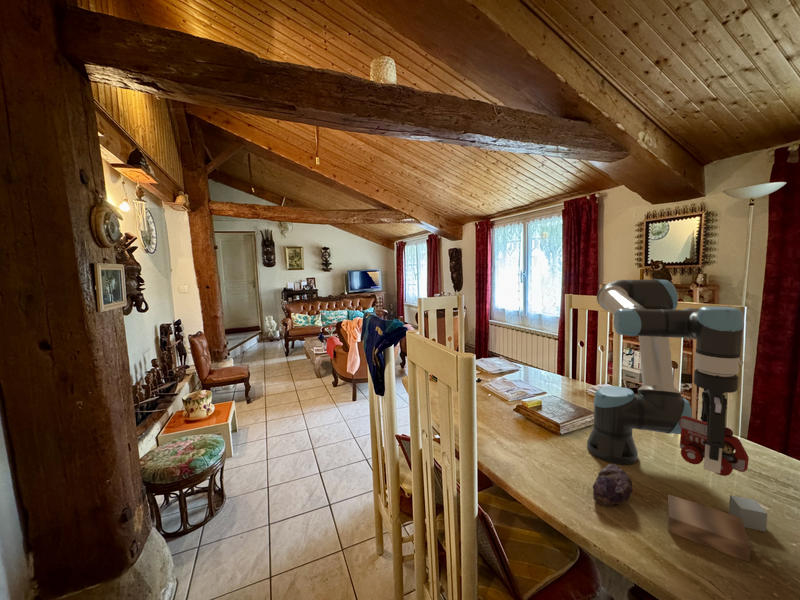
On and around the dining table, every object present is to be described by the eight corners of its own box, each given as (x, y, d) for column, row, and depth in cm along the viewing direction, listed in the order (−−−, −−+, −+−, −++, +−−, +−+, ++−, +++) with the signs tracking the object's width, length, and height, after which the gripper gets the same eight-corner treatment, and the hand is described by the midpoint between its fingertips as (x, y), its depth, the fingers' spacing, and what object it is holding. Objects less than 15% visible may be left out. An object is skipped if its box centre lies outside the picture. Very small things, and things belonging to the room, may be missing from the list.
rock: (587, 503, 93) (628, 521, 85) (585, 477, 91) (627, 494, 84) (599, 478, 100) (638, 493, 93) (597, 454, 99) (637, 467, 92)
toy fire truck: (741, 484, 71) (745, 440, 70) (672, 456, 82) (674, 418, 81) (750, 473, 75) (754, 430, 74) (683, 448, 85) (685, 411, 84)
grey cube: (738, 525, 82) (740, 507, 81) (728, 512, 86) (729, 494, 86) (765, 531, 80) (767, 513, 79) (753, 517, 84) (755, 499, 84)
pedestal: (668, 531, 81) (669, 517, 80) (667, 507, 88) (668, 494, 88) (749, 562, 72) (750, 546, 72) (740, 532, 80) (741, 517, 79)
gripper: (749, 389, 65) (740, 492, 68) (730, 363, 82) (723, 446, 84) (699, 381, 70) (692, 478, 72) (690, 358, 86) (685, 437, 89)
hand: (709, 461), depth 78 cm, fingers closed on toy fire truck, 8 cm apart
